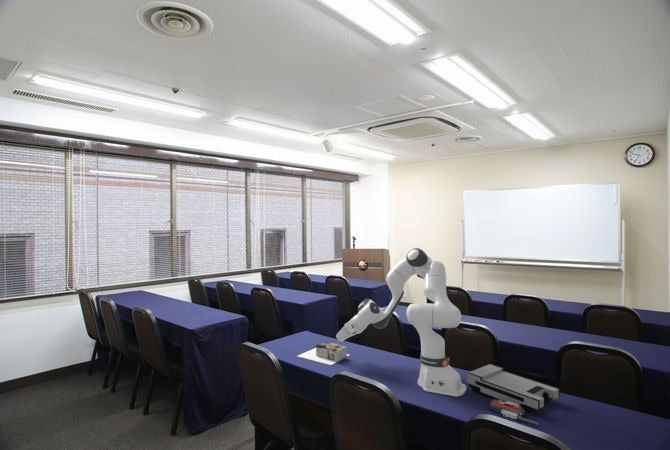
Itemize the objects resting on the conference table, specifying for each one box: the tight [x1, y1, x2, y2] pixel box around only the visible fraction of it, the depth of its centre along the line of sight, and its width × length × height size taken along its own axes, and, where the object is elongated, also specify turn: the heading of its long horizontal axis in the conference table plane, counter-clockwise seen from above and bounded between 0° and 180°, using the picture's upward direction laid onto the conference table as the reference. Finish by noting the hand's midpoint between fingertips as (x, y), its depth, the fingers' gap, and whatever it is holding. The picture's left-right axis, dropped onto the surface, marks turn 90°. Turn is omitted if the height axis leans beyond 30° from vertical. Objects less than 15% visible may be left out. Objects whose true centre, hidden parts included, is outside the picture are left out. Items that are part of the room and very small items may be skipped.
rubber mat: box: [296, 347, 351, 366], centre depth 217 cm, size 24×20×1 cm
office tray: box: [466, 363, 561, 412], centre depth 167 cm, size 21×32×8 cm, turn 37°
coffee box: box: [315, 341, 348, 363], centre depth 215 cm, size 9×6×16 cm
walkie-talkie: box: [486, 399, 540, 426], centre depth 150 cm, size 9×4×20 cm
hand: (341, 340), depth 209 cm, fingers closed
